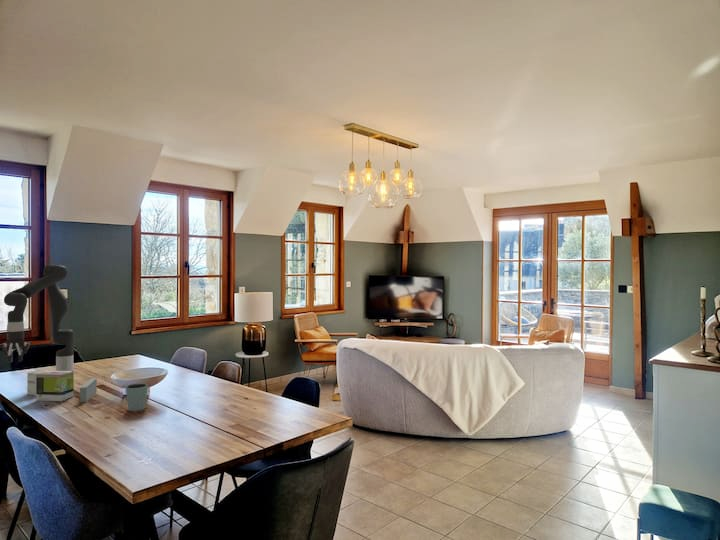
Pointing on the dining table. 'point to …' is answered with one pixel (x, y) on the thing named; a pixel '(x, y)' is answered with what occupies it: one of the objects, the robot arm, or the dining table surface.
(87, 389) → the stop board
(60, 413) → the dining table surface
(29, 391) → the supplement box
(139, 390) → the grey green open cylinder
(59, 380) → the tea box
